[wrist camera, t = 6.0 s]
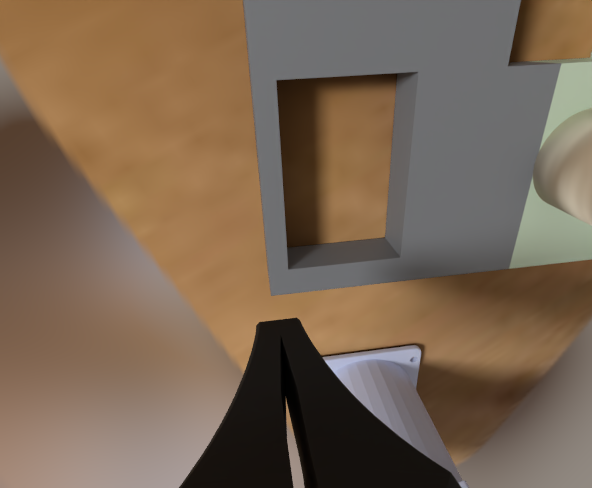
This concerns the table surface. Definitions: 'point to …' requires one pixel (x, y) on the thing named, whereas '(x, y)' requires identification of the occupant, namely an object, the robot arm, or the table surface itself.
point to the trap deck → (423, 137)
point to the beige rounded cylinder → (567, 167)
